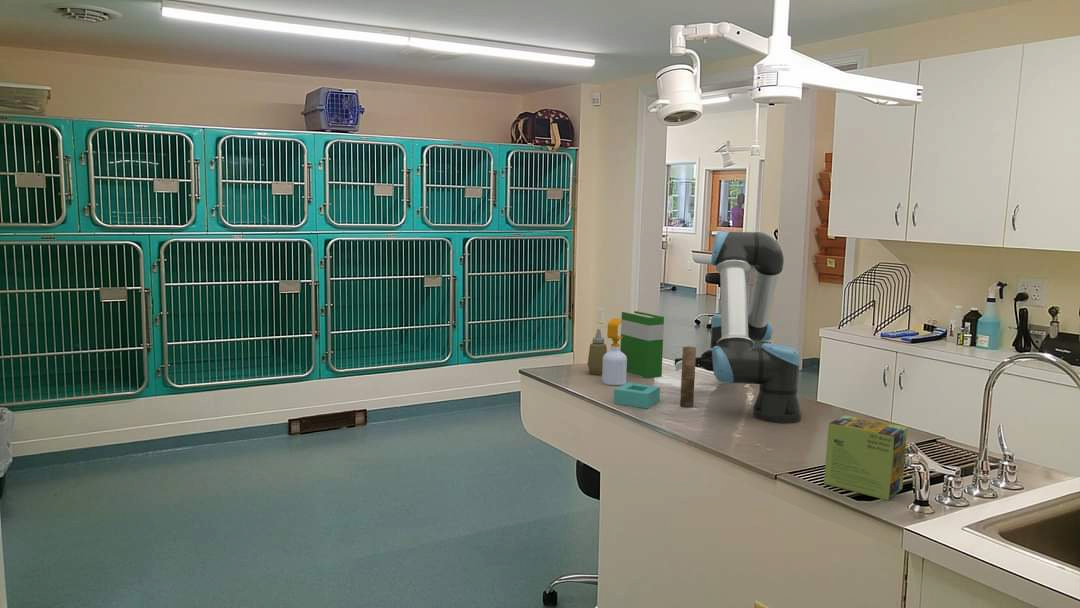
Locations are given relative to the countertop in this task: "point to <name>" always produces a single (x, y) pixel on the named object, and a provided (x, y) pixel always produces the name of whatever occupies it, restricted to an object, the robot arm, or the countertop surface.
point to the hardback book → (642, 343)
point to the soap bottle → (614, 358)
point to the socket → (637, 395)
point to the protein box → (865, 456)
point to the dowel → (688, 377)
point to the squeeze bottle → (596, 354)
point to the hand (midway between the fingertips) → (695, 369)
